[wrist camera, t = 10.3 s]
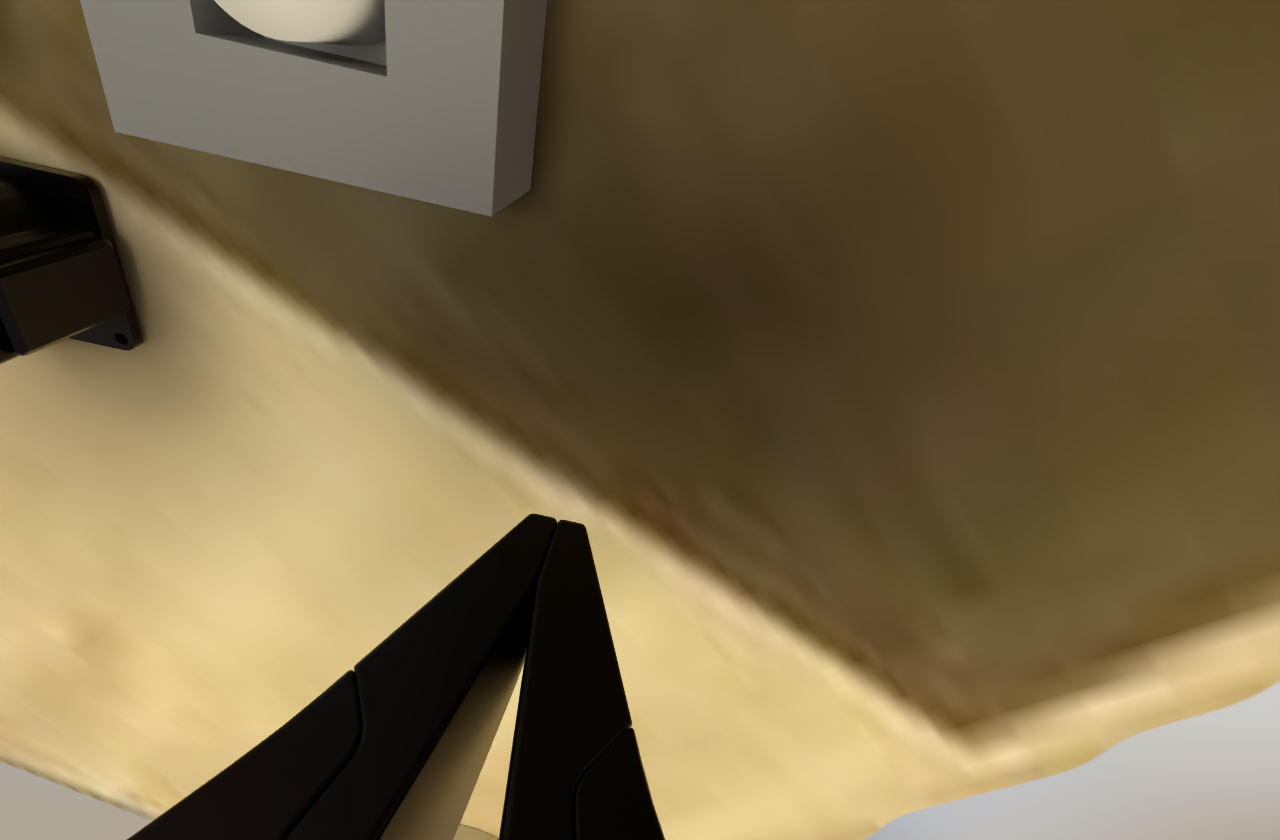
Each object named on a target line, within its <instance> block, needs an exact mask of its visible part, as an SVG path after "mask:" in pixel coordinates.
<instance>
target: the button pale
mask: <svg viewBox="0 0 1280 840" xmlns="http://www.w3.org/2000/svg"><path fill="white" fill-rule="evenodd" d="M214 1H215V2H216V3H217V4H218V5H219V6H220V7H221V8H222V9H223V10H224V11H226V12H227V13H228V14H229V15H230V16H231V17H233V18H234V19H235V20H237V21H238V22H239V23H241V24H242V25H244V26H246V27H247V28H249V29H250V30H252V31H254V32H257V33H259V34H261V35H263V36H266V37H269V38H273V39H277V40H283V41H294V42H310V43H325V44H340V45H369V44H374V43H377V42H379V41H382V40H383V39H385V38H386V30H385V1H384V0H214Z"/></svg>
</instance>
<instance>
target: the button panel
mask: <svg viewBox="0 0 1280 840" xmlns="http://www.w3.org/2000/svg"><path fill="white" fill-rule="evenodd" d="M384 1H385V30H386V38H385V39H383V40H382V41H379V42H377V43H374V44H369V45H340V44H325V43H310V42H294V41H283V40H277V39H273V38H269V37H266V36H263V35H261V34H259V33H257V32H254V31H252V30H250V29H249V28H247V27H246V26H244V25H242V24H241V23H239V22H238V21H237V20H235V19H234V18H233V17H231V16H230V15H229V14H228V13H227V12H226V11H224V10H223V9H222V8H221V7H220V6H219V5H218V4H217V3H216V2H215V1H214V0H80V2H81V6H82V9H83V13H84V17H85V21H86V25H87V28H88V32H89V36H90V40H91V43H92V47H93V51H94V55H95V59H96V62H97V66H98V70H99V74H100V77H101V81H102V85H103V89H104V93H105V96H106V100H107V104H108V108H109V112H110V115H111V119H112V123H113V127H114V130H115V132H118V133H123V134H127V135H131V136H136V137H140V138H145V139H149V140H154V141H158V142H162V143H167V144H171V145H176V146H180V147H185V148H189V149H193V150H198V151H202V152H207V153H211V154H216V155H220V156H225V157H229V158H233V159H238V160H242V161H247V162H251V163H256V164H260V165H264V166H269V167H273V168H278V169H282V170H287V171H291V172H295V173H300V174H304V175H309V176H313V177H318V178H322V179H326V180H331V181H335V182H340V183H344V184H349V185H353V186H357V187H362V188H366V189H371V190H375V191H380V192H384V193H388V194H393V195H397V196H402V197H406V198H411V199H415V200H419V201H424V202H428V203H433V204H437V205H442V206H446V207H451V208H455V209H459V210H464V211H468V212H473V213H477V214H482V215H486V216H490V217H492V216H494V215H495V214H496V213H498V212H499V211H501V210H502V209H504V208H505V207H506V206H508V205H509V204H511V203H512V202H514V201H515V200H517V199H518V198H519V197H521V196H522V195H524V194H525V193H527V192H528V191H529V190H531V178H532V167H533V156H534V145H535V134H536V122H537V111H538V100H539V89H540V78H541V66H542V55H543V44H544V33H545V22H546V10H547V0H384Z"/></svg>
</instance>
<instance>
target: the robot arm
mask: <svg viewBox="0 0 1280 840" xmlns="http://www.w3.org/2000/svg"><path fill="white" fill-rule="evenodd" d="M79 189H80V190H81V191H82V193H83V194H82V193H81V192H80V190H79ZM125 336H126V337H125ZM66 338H71V339H76V340H80V341H85V342H89V343H94V344H99V345H103V346H108V347H112V348H117V349H122V350H131V349H133V348H135V347H138V346H140V345H141V344H142V342H143V337H142V334H141V330H140V327H139V323H138V320H137V317H136V313H135V310H134V306H133V303H132V299H131V296H130V293H129V289H128V286H127V282H126V279H125V275H124V272H123V269H122V265H121V262H120V258H119V255H118V251H117V248H116V244H115V241H114V238H113V234H112V231H111V227H110V224H109V220H108V217H107V214H106V210H105V207H104V203H103V200H102V196H101V193H100V191H99V189H98V187H97V186H96V185H95V183H94V182H93V181H92V180H90V179H89V178H88V177H85V176H83V175H80V174H75V173H71V172H66V171H62V170H57V169H53V168H49V167H44V166H40V165H35V164H31V163H26V162H22V161H17V160H13V159H8V158H4V157H0V364H1V363H4V362H6V361H8V360H11V359H13V358H16V357H18V356H20V355H22V356H24V355H29V354H31V353H33V352H36V351H38V350H40V349H43V348H45V347H47V346H50V345H52V344H55V343H57V342H59V341H62V340H64V339H66ZM524 660H525V661H524ZM523 664H524V668H523V675H522V682H521V689H520V696H519V703H518V710H517V717H516V723H515V730H514V737H513V744H512V751H511V758H510V765H509V772H508V779H507V786H506V793H505V800H504V807H503V814H502V821H501V828H500V835H499V840H665V838H664V835H663V832H662V829H661V826H660V823H659V820H658V817H657V814H656V811H655V808H654V805H653V801H652V798H651V794H650V790H649V787H648V783H647V779H646V776H645V772H644V768H643V764H642V761H641V757H640V753H639V748H638V744H637V740H636V736H635V732H634V729H633V728H631V726H632V720H631V716H630V712H629V708H628V703H627V699H626V695H625V691H624V686H623V682H622V678H621V674H620V670H619V665H618V661H617V657H616V653H615V648H614V644H613V640H612V636H611V632H610V627H609V623H608V619H607V615H606V610H605V606H604V602H603V598H602V593H601V589H600V585H599V581H598V577H597V572H596V568H595V564H594V560H593V555H592V551H591V547H590V543H589V538H588V534H587V530H586V527H585V526H584V525H583V524H580V523H576V522H571V521H566V520H560V521H559V522H558V523H557V521H556V519H555V518H552V517H548V516H543V515H538V514H530V515H528V516H527V517H526V518H525V519H524V520H522V521H521V522H520V523H519V524H518V525H517V526H515V527H514V528H513V529H512V530H511V531H510V532H509V533H507V534H506V535H505V536H504V537H503V538H502V539H500V540H499V541H498V542H497V543H496V544H495V545H494V546H492V547H491V548H490V549H489V550H488V551H487V552H485V553H484V554H483V555H482V556H481V557H480V558H478V559H477V560H476V561H475V562H474V563H473V564H472V565H470V566H469V567H468V568H467V569H466V570H465V571H463V572H462V573H461V574H460V575H459V576H458V577H457V578H455V579H454V580H453V581H452V582H451V583H450V584H448V585H447V586H446V587H445V588H444V589H443V590H442V591H440V592H439V593H438V594H437V595H436V596H435V597H433V598H432V599H431V600H430V601H429V602H428V603H426V604H425V605H424V606H423V607H422V608H421V609H420V610H418V611H417V612H416V613H415V614H414V615H413V616H411V617H410V618H409V619H408V620H407V621H406V622H405V623H403V624H402V625H401V626H400V627H399V628H398V629H396V630H395V631H394V632H393V633H392V634H391V635H390V636H388V637H387V638H386V639H385V640H384V641H383V642H381V643H380V644H379V645H378V646H377V647H376V648H374V649H373V650H372V651H371V652H370V653H369V654H368V655H366V656H365V657H364V658H363V659H362V660H361V661H359V662H358V663H357V664H356V665H355V667H354V671H352V670H349V671H347V672H346V673H345V674H344V675H343V676H342V677H341V678H339V679H338V680H337V681H336V682H335V683H334V684H333V685H331V686H330V687H329V688H328V689H327V690H326V691H325V692H323V693H322V694H321V695H320V696H319V697H317V698H316V699H315V700H314V701H312V702H311V703H310V704H309V705H308V706H306V707H305V708H304V709H303V710H302V711H300V712H299V713H298V714H297V715H295V716H294V717H293V718H292V719H291V720H289V721H288V722H287V723H286V724H284V725H283V726H282V727H281V728H279V729H278V730H277V731H275V732H274V733H273V734H271V735H270V736H269V737H267V738H266V739H265V740H263V741H262V742H261V743H259V744H258V745H257V746H255V747H254V748H253V749H251V750H250V751H249V752H247V753H246V754H245V755H243V756H242V757H241V758H239V759H238V760H237V761H235V762H234V763H233V764H231V765H230V766H229V767H227V768H226V769H224V770H223V771H222V772H220V773H219V774H217V775H216V776H215V777H213V778H212V779H210V780H209V781H208V782H206V783H205V784H203V785H202V786H201V787H199V788H198V789H197V790H195V791H194V792H192V793H191V794H190V795H188V796H187V797H185V798H184V799H183V800H181V801H180V802H178V803H177V804H176V805H174V806H173V807H172V808H170V809H169V810H167V811H166V812H165V813H163V814H162V815H160V816H159V817H158V818H156V819H155V820H153V821H152V822H151V823H149V824H148V825H147V826H145V827H144V828H142V829H141V830H140V831H138V832H137V833H135V834H134V835H133V836H131V837H130V838H128V839H127V840H453V839H454V837H455V834H456V832H457V829H458V827H459V824H460V822H461V819H462V817H463V814H464V812H465V809H466V807H467V804H468V802H469V799H470V797H471V794H472V792H473V789H474V787H475V784H476V782H477V779H478V777H479V774H480V772H481V770H482V767H483V765H484V762H485V760H486V757H487V755H488V752H489V750H490V747H491V745H492V742H493V740H494V737H495V735H496V732H497V730H498V727H499V725H500V722H501V720H502V717H503V715H504V712H505V710H506V707H507V705H508V702H509V700H510V697H511V695H512V692H513V690H514V688H515V685H516V683H517V680H518V677H519V675H520V672H521V669H522V666H523Z"/></svg>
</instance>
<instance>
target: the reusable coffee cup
mask: <svg viewBox="0 0 1280 840" xmlns="http://www.w3.org/2000/svg"><path fill="white" fill-rule="evenodd" d="M453 840H499V839H497V838H496V837H494V836H492V835H490V834H488V833H486V832H483V831H480V830H478V829H475V828H471V827H468V826H464V825H459V827H458V829H457V832H456V834H455V837H454V839H453Z"/></svg>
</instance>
